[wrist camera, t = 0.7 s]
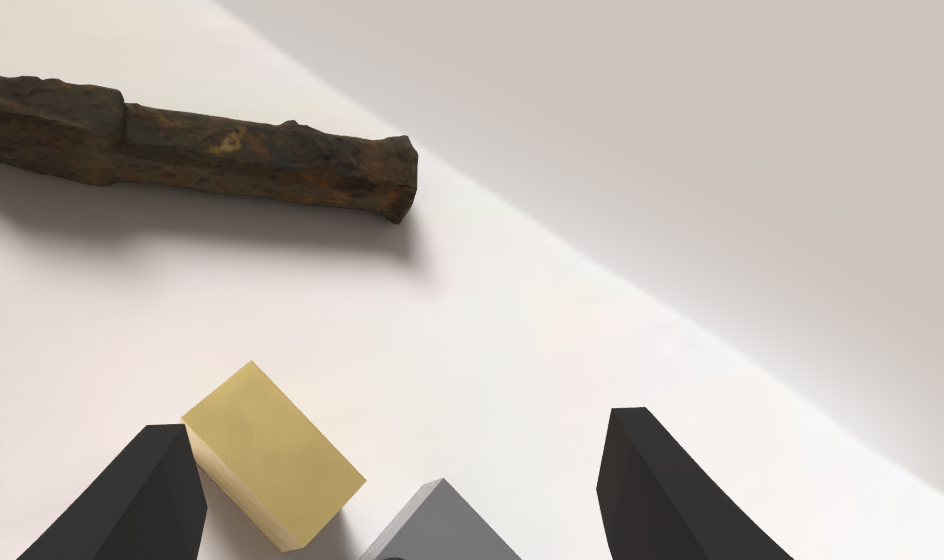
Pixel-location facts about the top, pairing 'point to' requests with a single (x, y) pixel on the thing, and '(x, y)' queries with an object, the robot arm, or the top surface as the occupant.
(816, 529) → the top surface
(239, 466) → the brass rectangular block
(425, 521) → the chain ends
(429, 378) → the top surface
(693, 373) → the top surface
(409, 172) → the dark brown elongated piece
